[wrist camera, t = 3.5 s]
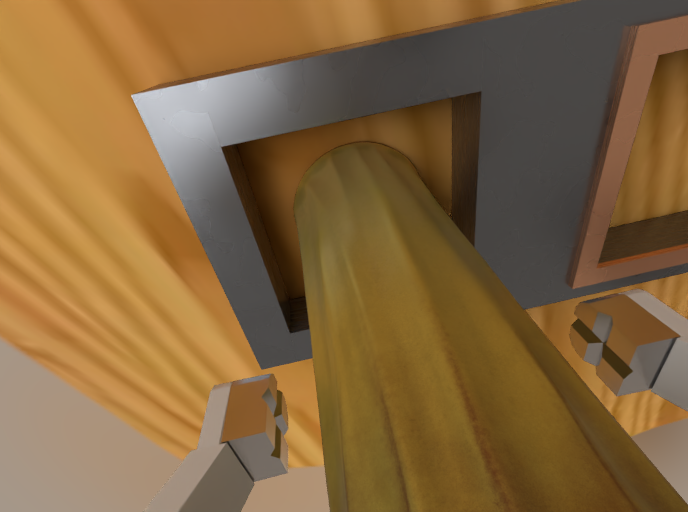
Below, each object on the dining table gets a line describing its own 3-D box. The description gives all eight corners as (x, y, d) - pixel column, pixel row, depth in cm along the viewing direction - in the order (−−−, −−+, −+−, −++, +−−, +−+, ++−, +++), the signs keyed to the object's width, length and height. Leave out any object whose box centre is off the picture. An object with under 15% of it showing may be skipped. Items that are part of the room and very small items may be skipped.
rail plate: (157, 85, 12) (127, 96, 10) (889, -69, 13) (1020, -92, 11) (264, 333, 20) (261, 374, 17) (733, 227, 20) (791, 253, 18)
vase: (332, 279, 18) (416, 737, 6) (266, 184, 15) (184, 759, 3) (438, 226, 17) (767, 643, 5) (392, 113, 14) (954, 534, 2)
